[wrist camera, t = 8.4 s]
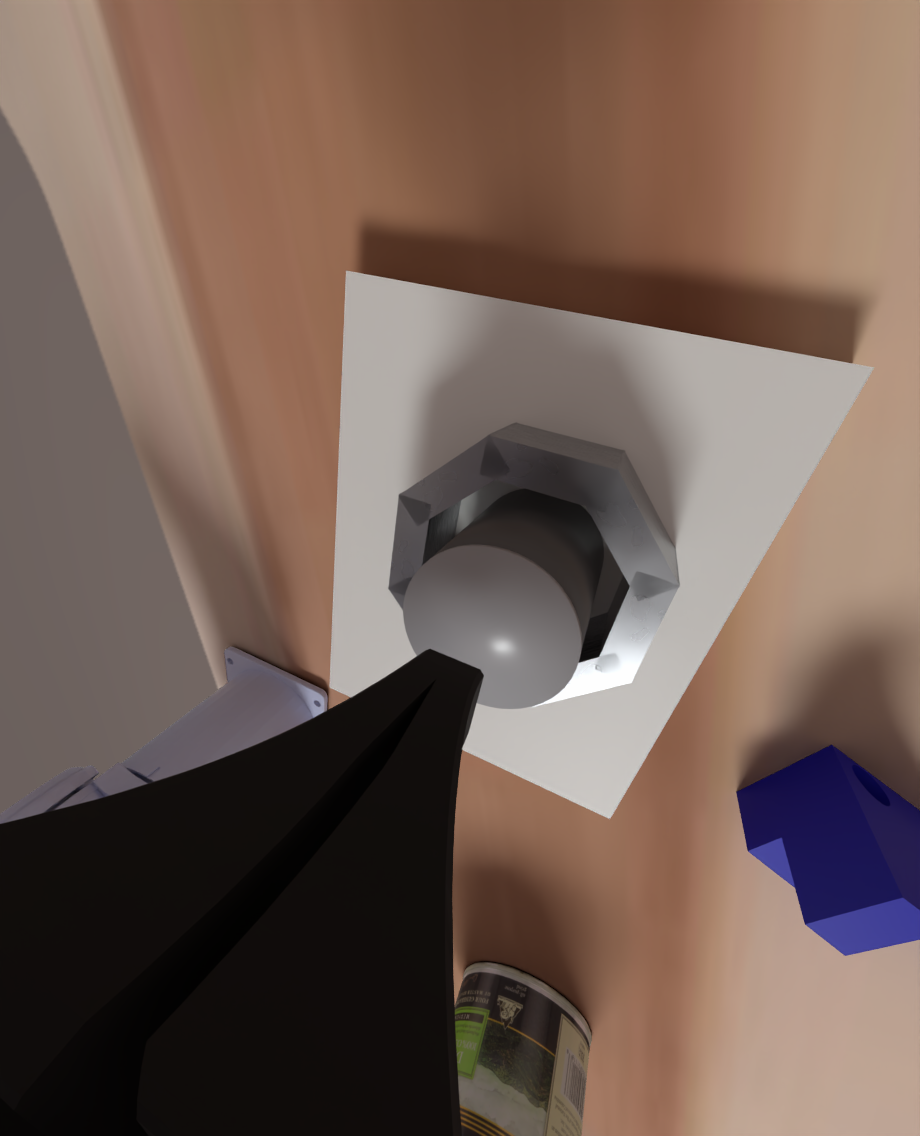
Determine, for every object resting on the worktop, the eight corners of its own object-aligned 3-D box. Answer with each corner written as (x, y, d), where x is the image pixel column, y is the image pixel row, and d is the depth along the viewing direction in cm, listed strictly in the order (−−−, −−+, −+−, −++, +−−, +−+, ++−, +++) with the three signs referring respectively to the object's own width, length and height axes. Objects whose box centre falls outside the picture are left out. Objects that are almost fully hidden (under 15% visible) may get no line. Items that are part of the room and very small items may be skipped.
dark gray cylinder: (579, 626, 17) (549, 735, 12) (464, 584, 19) (394, 667, 14) (624, 510, 15) (609, 587, 10) (488, 471, 16) (414, 521, 11)
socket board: (612, 793, 22) (603, 882, 18) (345, 671, 26) (293, 724, 22) (852, 366, 12) (938, 369, 9) (369, 277, 16) (285, 253, 13)
